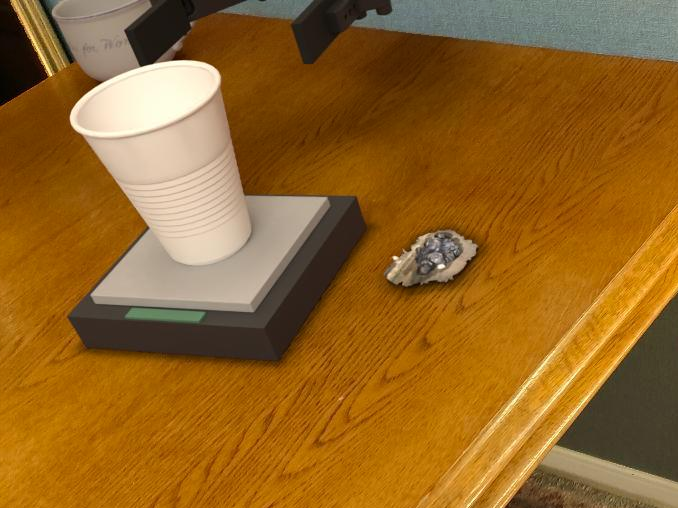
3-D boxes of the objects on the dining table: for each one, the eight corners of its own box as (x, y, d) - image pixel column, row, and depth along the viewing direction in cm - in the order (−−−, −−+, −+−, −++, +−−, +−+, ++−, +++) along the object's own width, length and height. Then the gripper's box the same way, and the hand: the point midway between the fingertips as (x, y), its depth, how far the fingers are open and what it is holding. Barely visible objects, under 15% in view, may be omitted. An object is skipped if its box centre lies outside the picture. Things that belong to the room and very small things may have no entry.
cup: (146, 300, 69) (66, 150, 61) (143, 229, 75) (71, 85, 67) (286, 259, 70) (225, 105, 61) (271, 193, 76) (215, 45, 68)
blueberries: (380, 299, 71) (373, 276, 70) (394, 236, 76) (387, 214, 75) (474, 288, 70) (468, 265, 69) (481, 225, 75) (476, 203, 74)
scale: (85, 347, 73) (60, 307, 70) (191, 223, 82) (173, 183, 80) (278, 361, 68) (259, 318, 65) (366, 228, 78) (353, 185, 75)
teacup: (70, 101, 103) (28, 20, 97) (121, 52, 109) (85, -26, 103) (188, 96, 99) (152, 12, 93) (233, 46, 106) (203, -35, 100)
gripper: (484, -29, 82) (391, 97, 70) (224, -15, 90) (96, 100, 77) (466, -133, 77) (360, -18, 64) (190, -110, 84) (46, -3, 71)
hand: (216, 47), depth 70 cm, fingers open, 13 cm apart
